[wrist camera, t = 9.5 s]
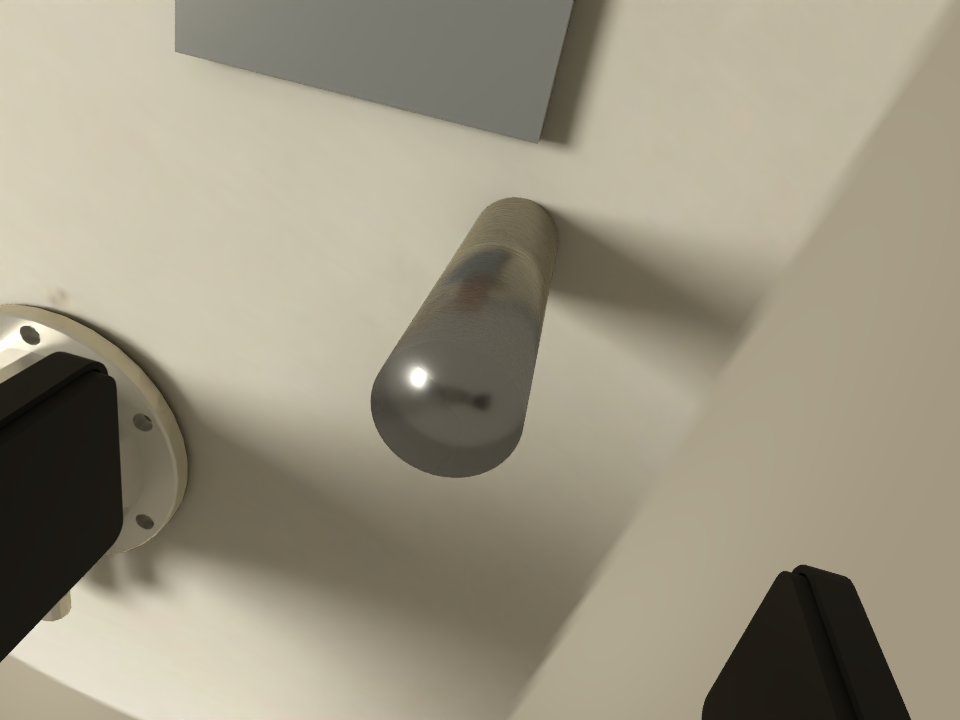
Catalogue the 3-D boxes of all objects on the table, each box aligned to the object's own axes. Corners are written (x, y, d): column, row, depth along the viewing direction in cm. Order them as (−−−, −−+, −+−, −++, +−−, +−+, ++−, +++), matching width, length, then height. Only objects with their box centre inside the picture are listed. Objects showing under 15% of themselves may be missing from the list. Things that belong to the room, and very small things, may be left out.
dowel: (545, 290, 24) (503, 494, 14) (465, 269, 24) (360, 455, 14) (568, 209, 23) (541, 366, 12) (482, 187, 23) (383, 323, 12)
